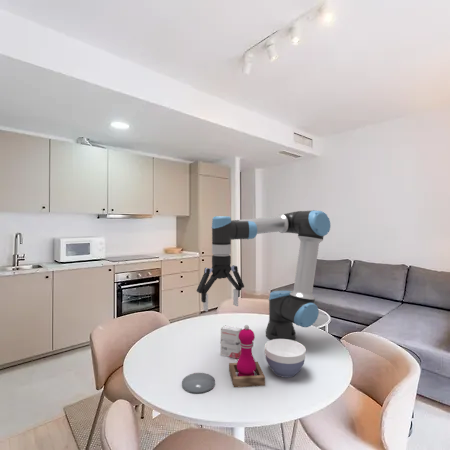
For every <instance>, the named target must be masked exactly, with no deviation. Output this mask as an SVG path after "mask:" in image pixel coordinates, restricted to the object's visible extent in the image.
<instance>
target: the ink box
mask: <svg viewBox="0 0 450 450" xmlns="http://www.w3.org/2000/svg"><path fill="white" fill-rule="evenodd" d="M242 329H243V328H242V327H237V326H236V327H235V326H231V325H223V326H222V327H221V328H220V356H223V357H228V358H229V357H230V358H233V359H236V358H237V359H239V357H240V355H241V347H240V340H239V332H240V331H241V330H242ZM237 359H236V360H237Z"/></svg>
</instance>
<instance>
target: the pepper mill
mask: <svg viewBox="0 0 450 450" xmlns="http://www.w3.org/2000/svg"><path fill="white" fill-rule="evenodd" d="M243 327H244V328H242V330H241V331H240V332H239V340H240V347H241V355H240V357H239V358H238V360H237V362H236V363H237V369H238V371H239V372H237V377H239V376H255V375H256V373H255V370H256V363H255V362H256V360H255V358H254V356H253V351H252V350H253V347H254V342H253V341H254V340H255V333H254V331H253V329H250V327H249V325H248V324H246V325H244V326H243Z"/></svg>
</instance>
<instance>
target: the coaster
mask: <svg viewBox="0 0 450 450" xmlns="http://www.w3.org/2000/svg"><path fill="white" fill-rule="evenodd" d="M215 386H216V379H215V377H214V376H213V375H211V374H209V373H205V372H194V373H191V374H188V375H186V376H185V377H184V378H182V381H181V387H182V389H183V391H185V392H187V393H190V394H194V395H195V394H196V395H198V394H205V393H207V392H208V393H209V391H211V390H213V389H214V387H215Z"/></svg>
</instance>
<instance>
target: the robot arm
mask: <svg viewBox="0 0 450 450" xmlns="http://www.w3.org/2000/svg"><path fill="white" fill-rule="evenodd" d="M330 230H331V220H330V218H329V216H328V214H327V213H326V212H325V211H323V210H314V209H313V210H297V211H292V212H287V213H280V214H278V215H277V216H271V217H270V216H269V217H257V218H256V217H255V218H244V219H237V220H235V219H234V220H232V217H231V216H229V215H227V216H225V215H224V216H222V215H221V216H219V215H218V216H217V215H216V216H213V217H212V220H211V254H212V256H211V268H210V267H209V268H208V267H204V270H203V275H202V277H201V280H200V282H199V284H198V286H197V289H196V292H197V293H198V294H201V295H200V296H201V297H200V298H201V299H200V300H201V302H202V304H203V308H202V309H203V311H205V312H209V294H208V292H209V290H210V289H211V287H212V286H213V284H214V283H215V282H216V281H217V280H218V279H219V280H221V279H228V281H229V282H230V283H231V284H232V286H233V291H232V293H233V297H232V299H233V301H232V303H233V304H232V305H234V306H236V307H239V298H240V296H241V290H242V289H243V288H245V284H244V281H243V280H242V278H241V275H240V273H239V270H238V269H239V268H238V266H237V265H232V266H231V263H232V258H231V253H232V248H231V247H232V240H249V239H250V240H252V239H255V238H256V237H257V235H260V234H261V235H262V234H267V233H269V234H271V233H277V232H279V233H280V234H284V233H286V234H296V235H297V238H298V239H299V241H300V242H299V249H298V256H297V264H296V271H295V277H294V285H293V290H292V291H290V290H274V291H271V292H270V293H269V296H268V302H269V303H268V307H269V308H268V311H269V312H268V315H269V317H268V323H267V326H266V329H265V337H266V338H267V339H268V340H269V341H270V340H273V339H288V340H293V341H296V337H297V336H296V335H297V334H296V330H295V325H296V326H298V327H301V328H309V327H311V326H313V324H315V323H316V321H317V320H318V317H319V307H318V305H317V304H315V303H316V302H315V301H316V298H315V296H314V295H313V291H314V282H315V276H316V269H317V261H318V254H319V246H320V243H322V242H323V241H324V237H325V236H326V235H328V233H329V232H330ZM231 272H232V274H233V276H234V277H233V276H232V275H231ZM210 274H211V275H210ZM209 277H210V278H209ZM234 278H235V279H234ZM294 324H295V325H294Z"/></svg>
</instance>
